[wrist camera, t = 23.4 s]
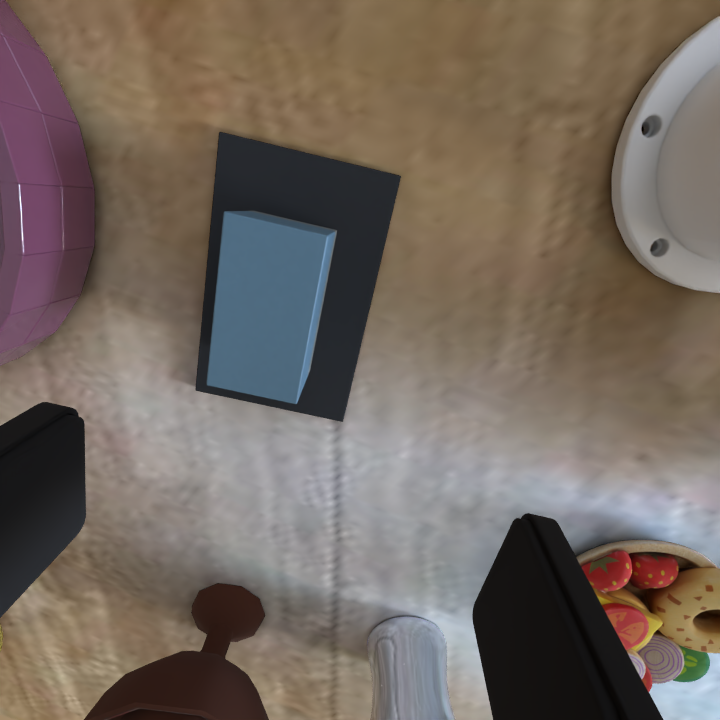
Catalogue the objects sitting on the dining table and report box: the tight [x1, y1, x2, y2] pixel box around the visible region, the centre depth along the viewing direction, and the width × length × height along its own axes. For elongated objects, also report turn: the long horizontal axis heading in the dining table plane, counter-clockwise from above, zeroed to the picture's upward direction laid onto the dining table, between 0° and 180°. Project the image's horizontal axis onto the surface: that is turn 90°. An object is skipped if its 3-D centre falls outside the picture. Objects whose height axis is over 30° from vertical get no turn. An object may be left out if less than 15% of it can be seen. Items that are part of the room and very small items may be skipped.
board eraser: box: [207, 211, 337, 404], centre depth 20 cm, size 8×4×4 cm, turn 167°
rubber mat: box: [196, 132, 401, 422], centre depth 23 cm, size 14×9×1 cm, turn 167°
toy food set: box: [576, 540, 720, 692], centre depth 28 cm, size 13×13×3 cm
